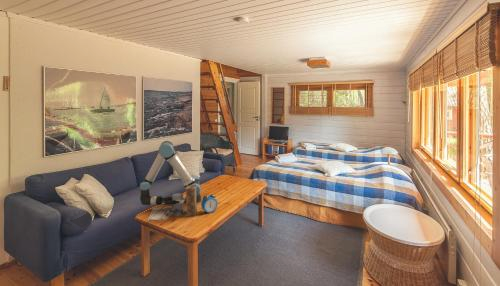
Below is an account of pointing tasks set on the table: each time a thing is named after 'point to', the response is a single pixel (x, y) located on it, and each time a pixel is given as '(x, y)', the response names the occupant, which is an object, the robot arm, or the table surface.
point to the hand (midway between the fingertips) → (184, 200)
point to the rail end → (177, 197)
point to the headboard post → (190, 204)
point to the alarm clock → (209, 203)
